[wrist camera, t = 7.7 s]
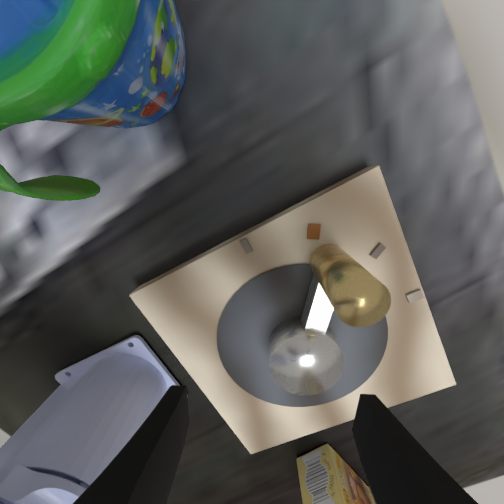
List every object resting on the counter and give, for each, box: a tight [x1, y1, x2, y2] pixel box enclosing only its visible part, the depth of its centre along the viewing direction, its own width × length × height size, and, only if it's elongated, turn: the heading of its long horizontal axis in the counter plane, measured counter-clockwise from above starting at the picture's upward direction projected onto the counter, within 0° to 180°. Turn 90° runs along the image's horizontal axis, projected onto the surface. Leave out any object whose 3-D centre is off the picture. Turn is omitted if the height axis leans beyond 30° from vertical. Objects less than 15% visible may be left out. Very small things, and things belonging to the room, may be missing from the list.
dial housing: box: [129, 166, 456, 454], centre depth 19 cm, size 19×19×2 cm
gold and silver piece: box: [269, 244, 391, 395], centre depth 14 cm, size 11×5×6 cm, turn 170°
